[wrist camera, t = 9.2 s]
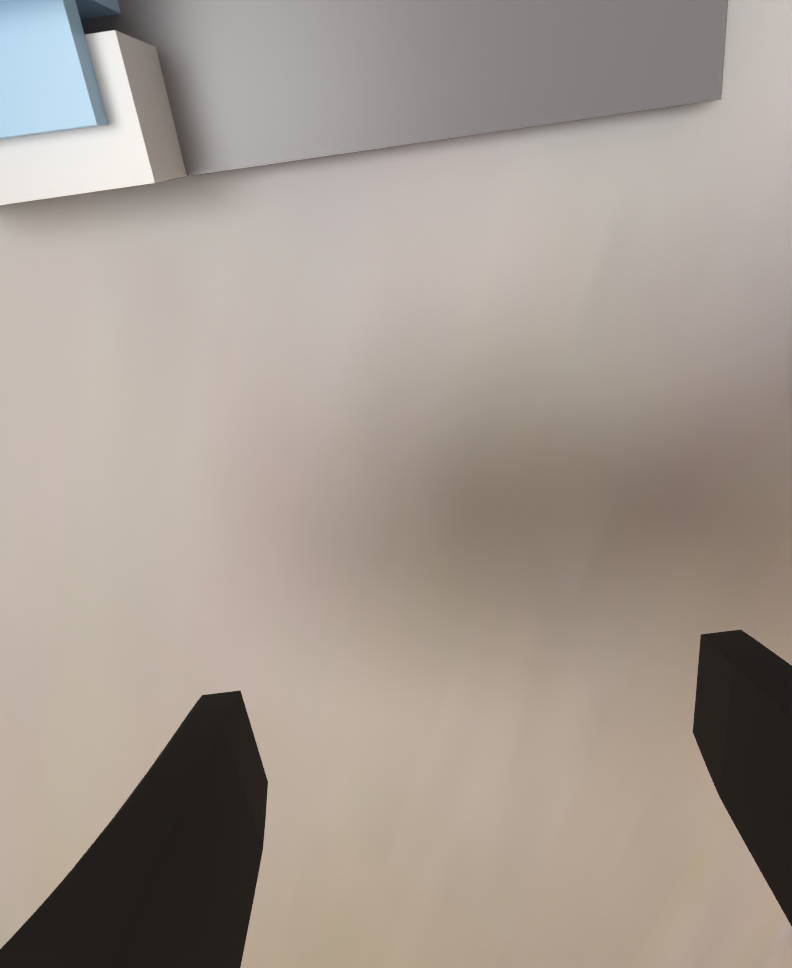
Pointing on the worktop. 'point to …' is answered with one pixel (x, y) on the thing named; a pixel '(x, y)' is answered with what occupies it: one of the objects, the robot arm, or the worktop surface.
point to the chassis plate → (356, 80)
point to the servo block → (48, 67)
